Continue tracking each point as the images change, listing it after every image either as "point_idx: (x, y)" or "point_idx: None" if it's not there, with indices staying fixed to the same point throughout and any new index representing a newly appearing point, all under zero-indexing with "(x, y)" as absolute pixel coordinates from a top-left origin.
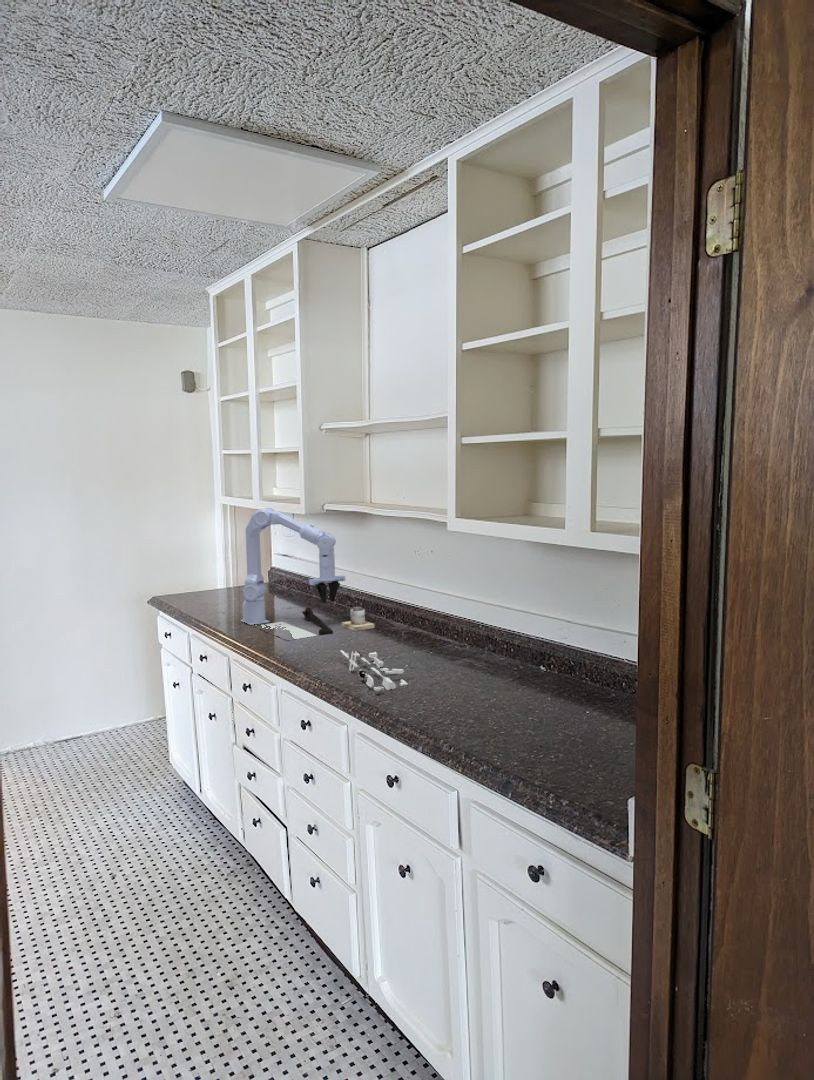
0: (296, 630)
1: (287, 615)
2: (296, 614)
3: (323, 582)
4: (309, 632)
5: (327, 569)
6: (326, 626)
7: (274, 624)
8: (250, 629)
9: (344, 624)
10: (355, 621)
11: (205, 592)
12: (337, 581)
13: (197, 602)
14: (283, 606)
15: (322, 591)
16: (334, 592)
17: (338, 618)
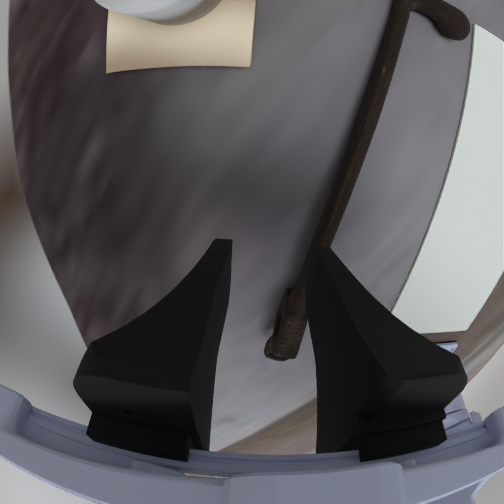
0: (472, 178)
1: (290, 384)
2: (258, 380)
3: (361, 462)
4: (470, 95)
5: None
6: (397, 53)
7: (427, 315)
8: (492, 306)
9: (253, 31)
10: None
11: None
12: (100, 430)
13: None
14: (228, 431)
15: (406, 326)
16: (205, 293)
17: (154, 246)
